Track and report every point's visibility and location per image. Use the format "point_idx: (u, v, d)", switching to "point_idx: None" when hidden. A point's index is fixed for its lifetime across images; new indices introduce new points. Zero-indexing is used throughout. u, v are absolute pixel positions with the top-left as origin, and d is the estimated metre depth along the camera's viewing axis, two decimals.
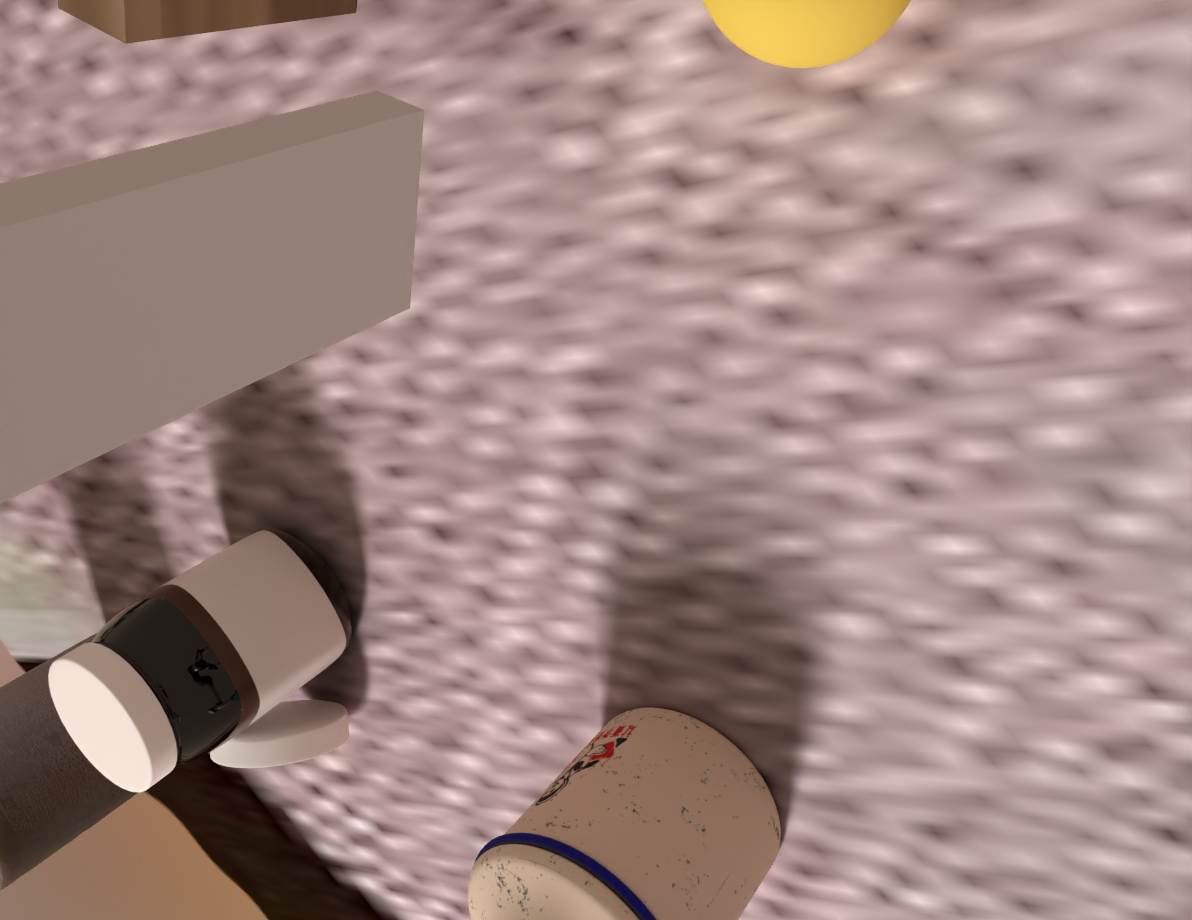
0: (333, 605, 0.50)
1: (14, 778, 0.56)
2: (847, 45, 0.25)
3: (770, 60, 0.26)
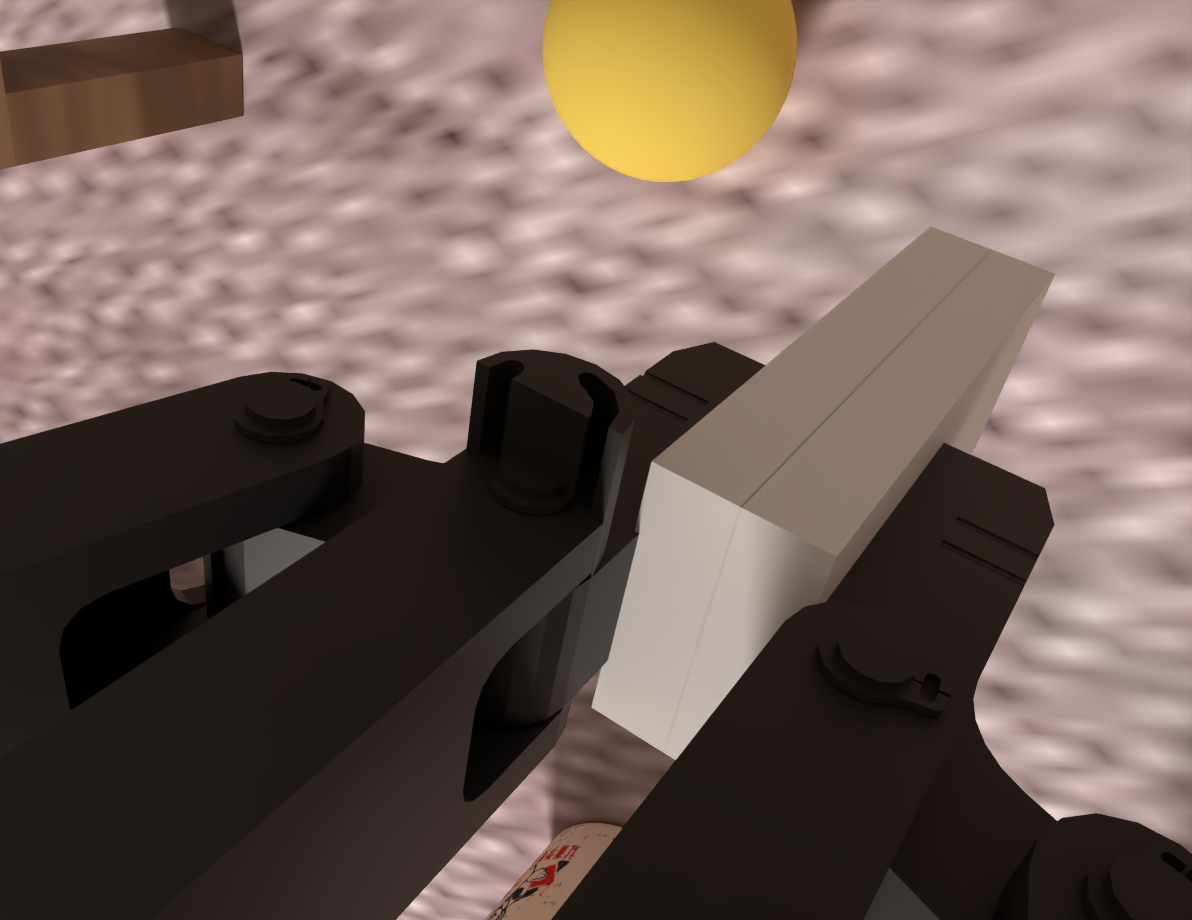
0: None
1: None
2: (712, 160, 0.23)
3: (635, 176, 0.24)
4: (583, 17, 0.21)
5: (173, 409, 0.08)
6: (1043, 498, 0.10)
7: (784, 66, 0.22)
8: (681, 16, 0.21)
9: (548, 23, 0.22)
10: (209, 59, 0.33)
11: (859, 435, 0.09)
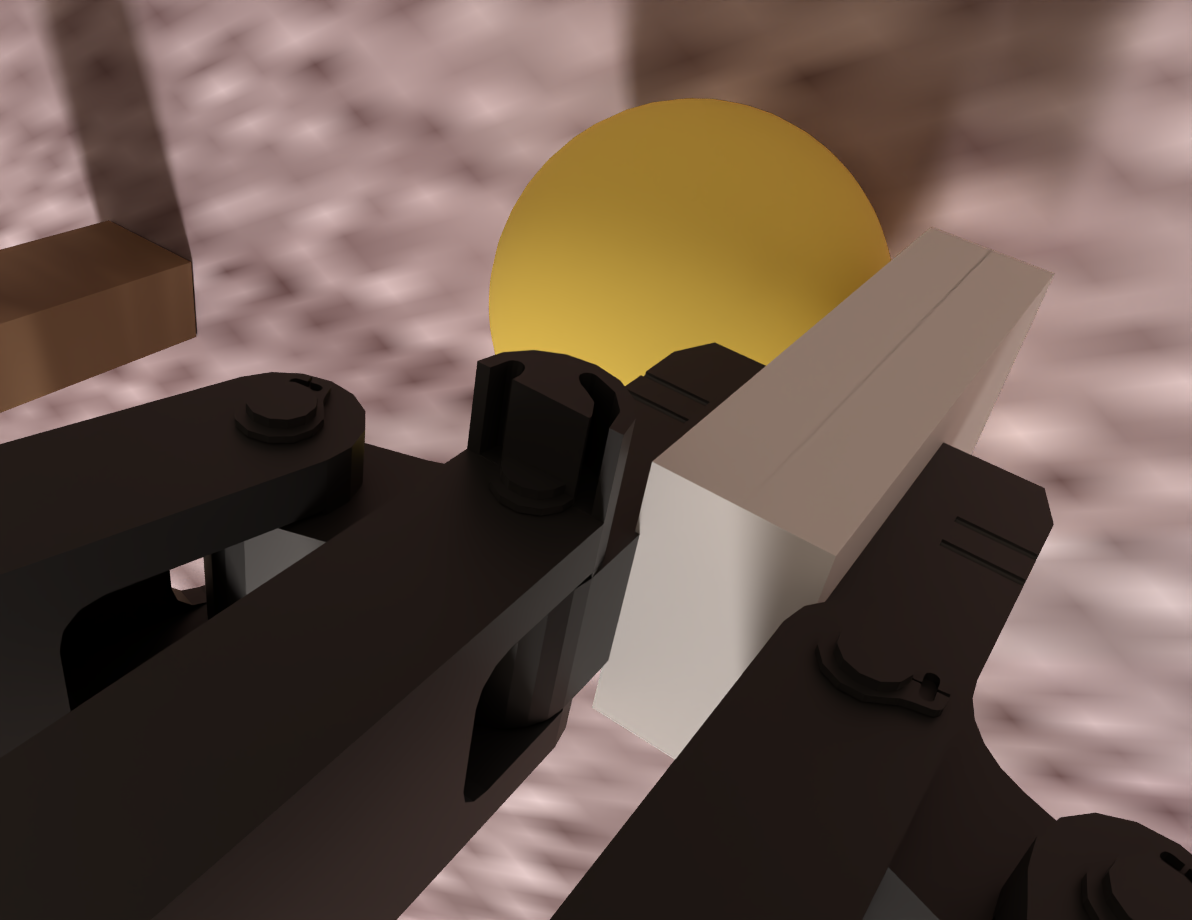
0: None
1: None
2: None
3: None
4: (506, 225, 0.14)
5: (173, 409, 0.08)
6: (1043, 497, 0.10)
7: None
8: (585, 251, 0.12)
9: None
10: (145, 276, 0.24)
11: (858, 434, 0.09)
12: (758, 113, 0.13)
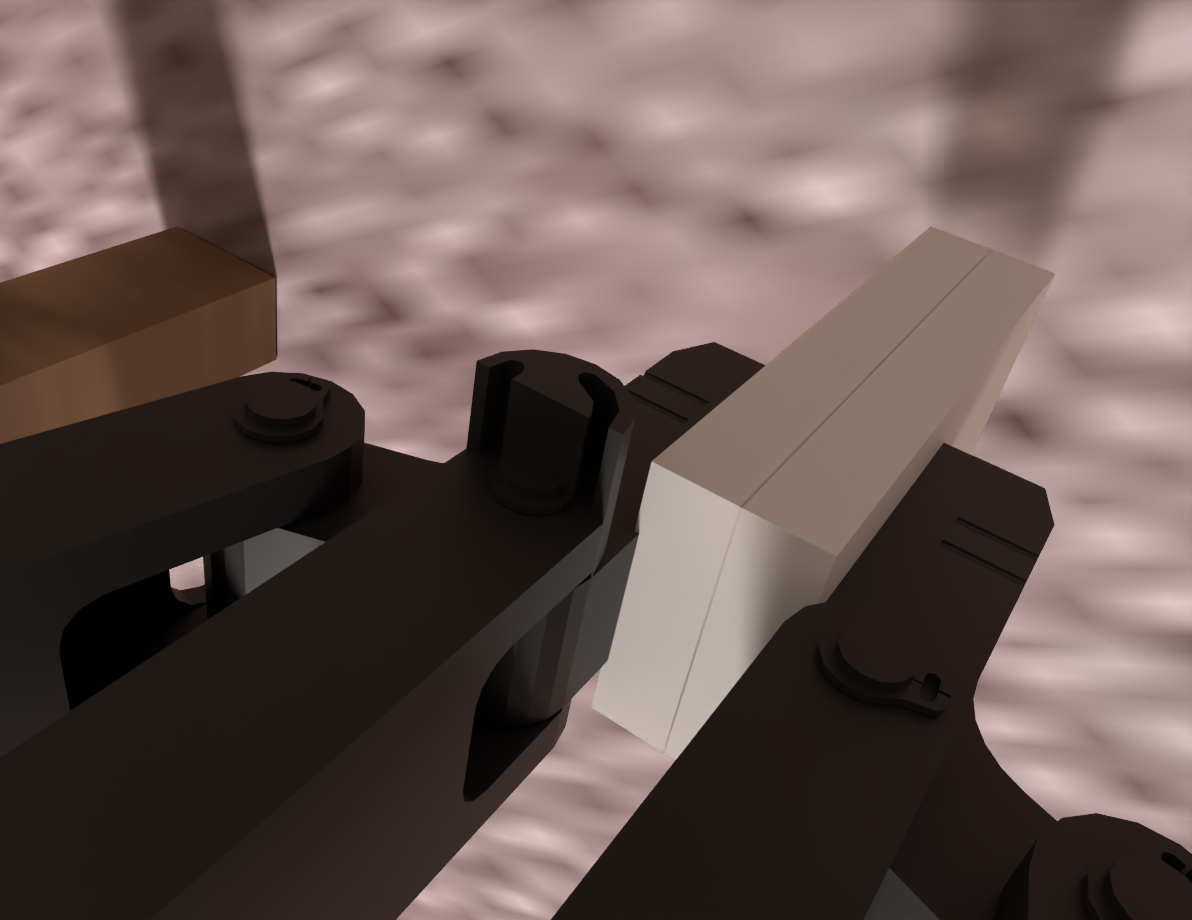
0: None
1: None
2: None
3: None
4: None
5: (173, 409, 0.08)
6: (1044, 497, 0.10)
7: None
8: None
9: None
10: (227, 295, 0.21)
11: (859, 434, 0.09)
12: None
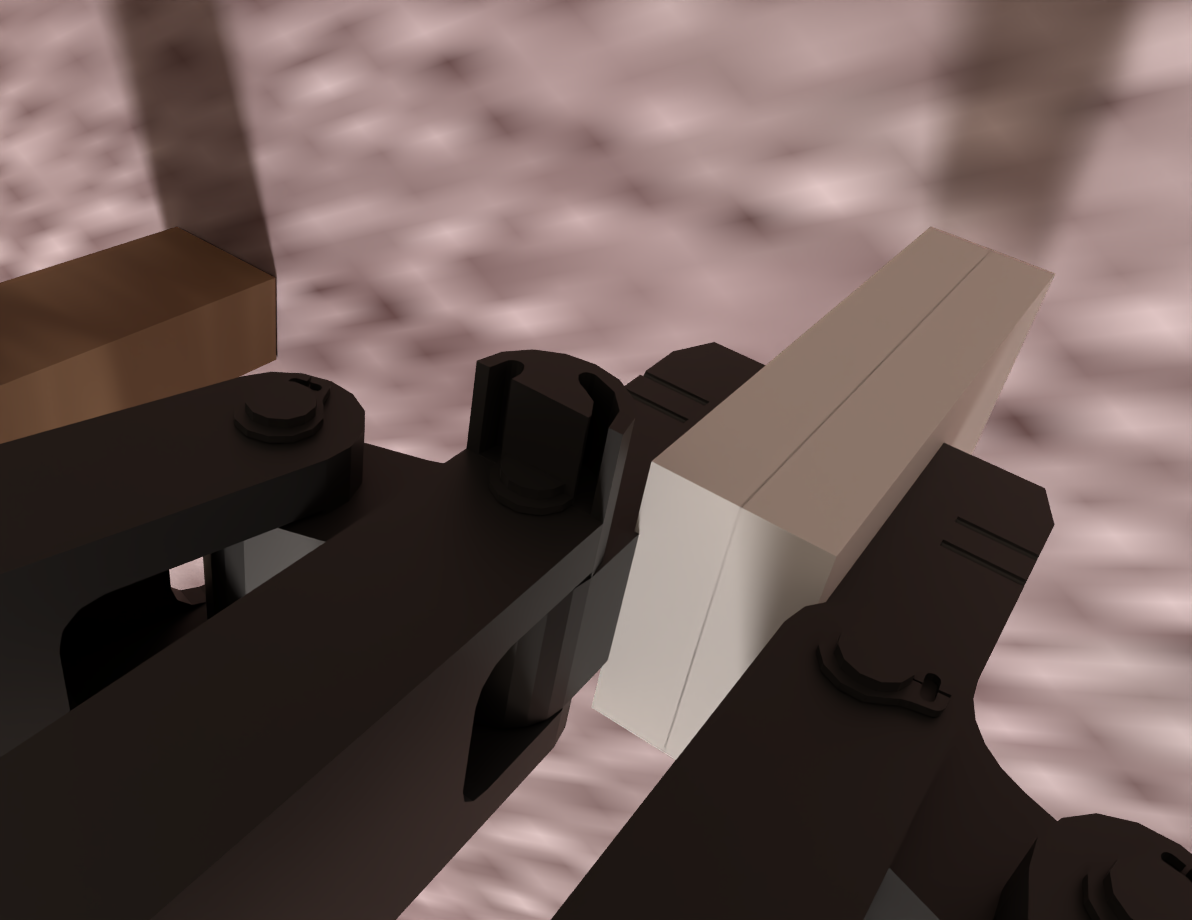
0: None
1: None
2: None
3: None
4: None
5: (173, 409, 0.08)
6: (1044, 497, 0.10)
7: None
8: None
9: None
10: (227, 295, 0.21)
11: (859, 434, 0.09)
12: None
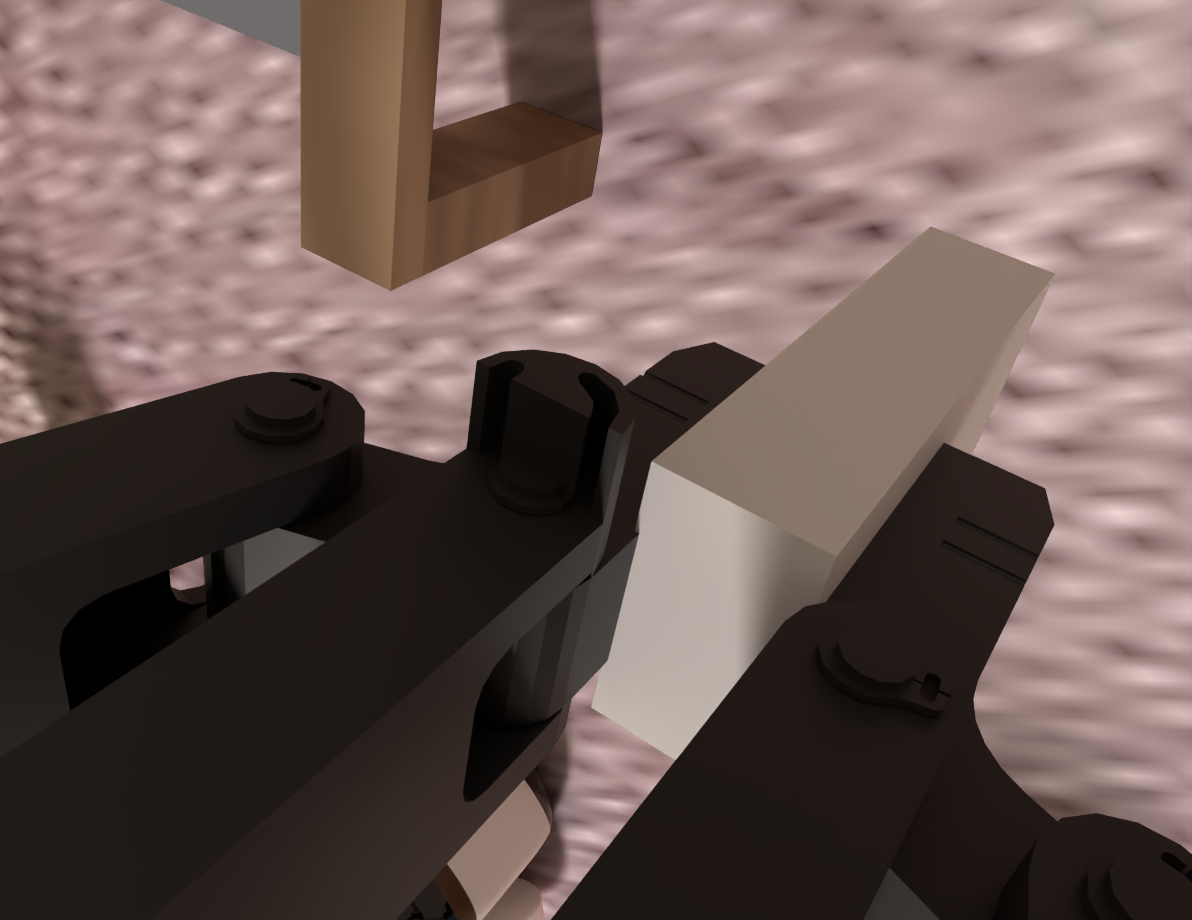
0: (536, 796, 0.46)
1: None
2: None
3: None
4: None
5: (173, 409, 0.08)
6: (1044, 498, 0.10)
7: None
8: None
9: None
10: (578, 141, 0.31)
11: (860, 435, 0.09)
12: None
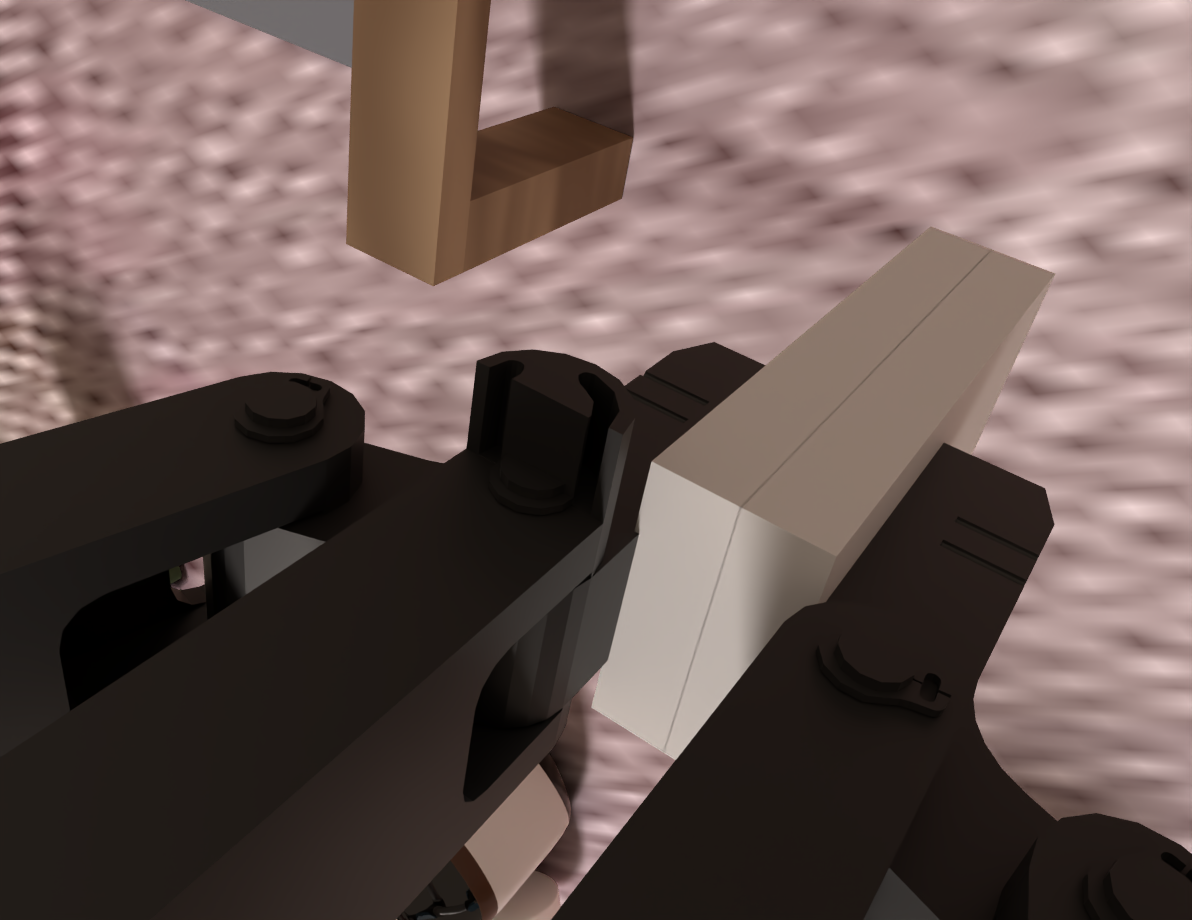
0: (555, 787, 0.47)
1: None
2: None
3: None
4: None
5: (173, 409, 0.08)
6: (1043, 497, 0.10)
7: None
8: None
9: None
10: (611, 145, 0.32)
11: (859, 435, 0.09)
12: None
